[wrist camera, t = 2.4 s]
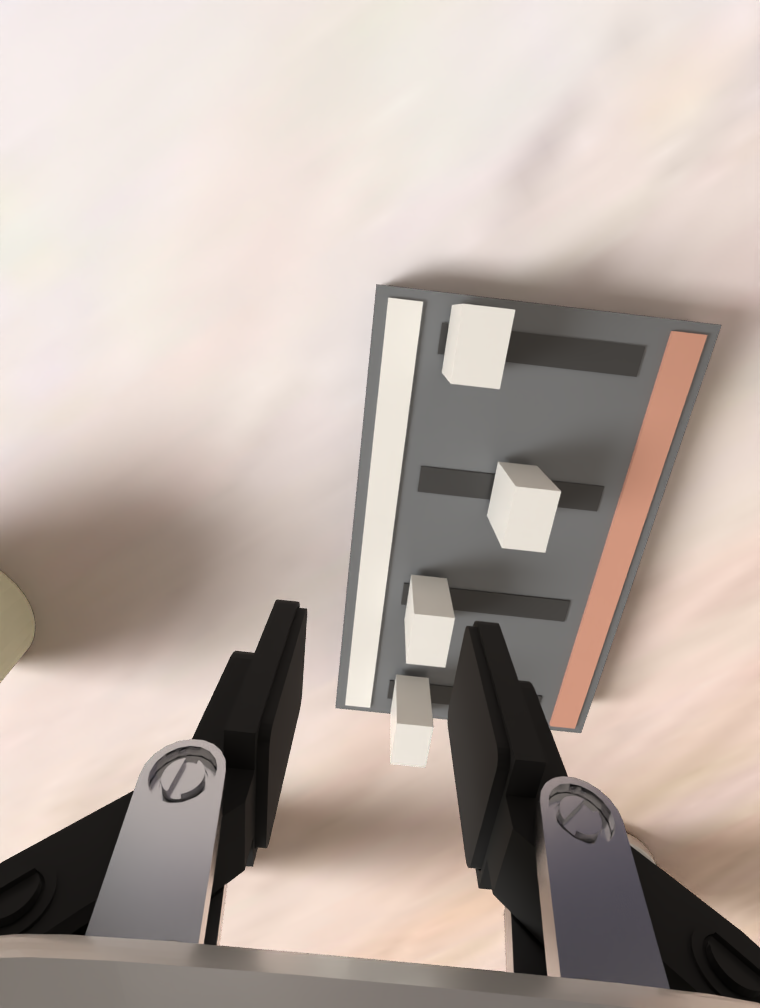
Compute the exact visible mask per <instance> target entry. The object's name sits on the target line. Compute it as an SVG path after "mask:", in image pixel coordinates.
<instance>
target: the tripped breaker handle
mask: <svg viewBox="0 0 760 1008" xmlns="http://www.w3.org/2000/svg"><path fill="white" fill-rule="evenodd" d="M560 494H561V491H560V490H559V489H558V487H557V486H556V485H555V484H554V483H553V482H552V481H551V480H550V479H549V478H548V477H547V476H546V475H545V474H544V473H543V472H542V470H541V469H540V468H539V467H538V466H534V465H525V464H517V463H508V462H499V461H498V464H497V469H496V474H495V479H494V484H493V489H492V493H491V498H490V503H489V508H488V513H487V517H488V519H489V521H490V523H491V526H492V528H493V530H494V532H495V534H496V536H497V538H498V541H499V543H500V545H501V547H502V548H506V549H516V550H525V551H534V552H543V553H545V552H546V548H547V544H548V540H549V536H550V533H551V529H552V525H553V521H554V517H555V513H556V510H557V506H558V502H559V498H560Z"/></svg>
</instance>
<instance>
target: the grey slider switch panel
mask: <svg viewBox="0 0 760 1008" xmlns="http://www.w3.org/2000/svg"><path fill="white" fill-rule="evenodd" d="M720 328H721V325H717V324H709V323H700V322H692V321H683V320H675V319H667V318H658V317H650V316H641V315H633V314H624V313H616V312H607V311H599V310H590V309H582V308H573V307H565V306H556V305H548V304H539V303H531V302H522V301H514V300H505V299H497V298H488V297H480V296H471V295H463V294H455V293H446V292H438V291H429V290H421V289H412V288H404V287H395V286H387V285H378V284H376V294H375V305H374V315H373V325H372V336H371V346H370V356H369V367H368V377H367V387H366V398H365V408H364V418H363V429H362V439H361V449H360V460H359V470H358V480H357V491H356V501H355V511H354V522H353V532H352V542H351V553H350V563H349V573H348V584H347V594H346V604H345V615H344V625H343V635H342V646H341V656H340V666H339V676H338V687H337V697H336V707H335V708H340V709H350V710H360V711H370V712H379V713H389V714H390V764H394V765H404V766H414V767H424V768H426V763H427V758H428V753H429V748H430V743H431V738H432V733H433V728H434V726H433V718H438V719H448V709H449V704H450V699H451V694H452V689H453V685H454V680H455V675H456V670H457V665H458V660H459V656H460V651H461V646H462V641H463V636H464V631H465V628H466V626H473V624H474V622H475V621H485V622H494V623H499V625H500V627H501V630H502V633H503V636H504V639H505V642H506V645H507V648H508V651H509V654H510V657H511V660H512V662H513V665H514V668H515V671H516V674H517V677H518V680H521V681H529V682H531V683H532V685H533V687H534V688H535V691H536V694H537V696H538V699H539V702H540V704H541V707H542V710H543V712H544V715H545V718H546V720H547V723H548V725H549V728H550V730H556V731H566V732H575V733H581V732H582V729H583V726H584V723H585V720H586V717H587V714H588V712H589V709H590V706H591V703H592V700H593V697H594V694H595V691H596V688H597V685H598V682H599V680H600V677H601V674H602V671H603V668H604V665H605V662H606V659H607V656H608V653H609V651H610V648H611V645H612V642H613V639H614V636H615V633H616V630H617V627H618V624H619V621H620V619H621V616H622V613H623V610H624V607H625V604H626V601H627V598H628V595H629V592H630V590H631V587H632V584H633V581H634V578H635V575H636V572H637V569H638V566H639V563H640V560H641V558H642V555H643V552H644V549H645V546H646V543H647V540H648V537H649V534H650V531H651V529H652V526H653V523H654V520H655V517H656V514H657V511H658V508H659V505H660V502H661V499H662V497H663V494H664V491H665V488H666V485H667V482H668V479H669V476H670V473H671V470H672V467H673V465H674V462H675V459H676V456H677V453H678V450H679V447H680V444H681V441H682V438H683V436H684V433H685V430H686V427H687V424H688V421H689V418H690V415H691V412H692V409H693V406H694V404H695V401H696V398H697V395H698V392H699V389H700V386H701V383H702V380H703V377H704V375H705V372H706V369H707V366H708V363H709V360H710V357H711V354H712V351H713V348H714V345H715V343H716V340H717V337H718V334H719V331H720ZM498 461H499V462H508V463H517V464H525V465H534V466H538V467H539V468H540V469H541V470H542V472H543V473H544V474H545V475H546V476H547V477H548V478H549V479H550V480H551V481H552V482H553V483H554V484H555V485H556V486H557V487H558V489H559V490H560V491H561V494H560V498H559V502H558V506H557V510H556V513H555V517H554V521H553V525H552V529H551V533H550V536H549V540H548V544H547V548H546V552H545V553H543V552H534V551H525V550H516V549H506V548H502V547H501V545H500V543H499V541H498V538H497V536H496V534H495V532H494V530H493V528H492V526H491V523H490V521H489V519H488V517H487V513H488V508H489V503H490V498H491V493H492V489H493V484H494V479H495V474H496V469H497V464H498Z"/></svg>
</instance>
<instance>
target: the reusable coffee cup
mask: <svg viewBox="0 0 760 1008" xmlns="http://www.w3.org/2000/svg"><path fill="white" fill-rule="evenodd" d="M34 633H35V620H34V615H33V612H32V609H31V606H30V604H29V602H28V600H27V599H26V597H25V595H24V594H23V592H22V591H21V590H20V589H19V588H18V586H17V585H16V584H15V583H14V582H13V581H12V580H11V579H10V578H9V577H8V576H6V575H5V574H4V573H3V572H1V571H0V683H1V681H2V680H3V679H4V678H5V677H6V675H7V674H8V673H9V672H10V670H11V669H12V668H13V667H14V666H15V664H16V663H17V662H18V661H19V659H20V658H21V657H22V656H23V655H24V653H25V652H26V651H27V650H28V648H29V647H30V645H31V643H32V641H33V639H34Z"/></svg>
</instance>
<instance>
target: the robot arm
mask: <svg viewBox="0 0 760 1008" xmlns="http://www.w3.org/2000/svg"><path fill="white" fill-rule="evenodd" d="M306 623H307V609H305V608H300V604H299V602H296V601H286V600H276V601H275V604H274V606H273V609H272V611H271V614H270V616H269V619H268V621H267V624H266V626H265V628H264V631H263V633H262V636H261V638H260V641H259V643H258V646H257V648H256V651H255V653H251V652H241V651H235V652H233V654H232V655H231V657H230V659H229V661H228V663H227V665H226V668H225V670H224V672H223V674H222V676H221V678H220V680H219V682H218V685H217V687H216V689H215V691H214V693H213V695H212V697H211V700H210V702H209V704H208V706H207V708H206V710H205V712H204V714H203V717H202V719H201V721H200V723H199V725H198V727H197V729H196V732H195V734H194V736H193V738H192V739H189V740H183V741H178V742H175V743H173V744H170V745H168V746H166V747H164V748H163V749H161V750H160V751H158V752H157V753H155V754H154V755H153V756H152V757H151V758H150V759H149V760H148V761H147V762H146V764H145V765H144V767H143V769H142V771H141V773H140V775H139V777H138V780H137V783H136V786H135V789H134V791H132V792H130V793H128V794H126V795H125V796H123V797H121V798H119V799H117V800H115V801H114V802H112V803H110V804H108V805H106V806H104V807H103V808H101V809H99V810H97V811H95V812H93V813H92V814H90V815H88V816H86V817H84V818H82V819H80V820H79V821H77V822H75V823H73V824H71V825H69V826H68V827H66V828H64V829H62V830H60V831H58V832H57V833H55V834H53V835H51V836H49V837H47V838H46V839H44V840H42V841H40V842H38V843H36V844H35V845H33V846H31V847H29V848H27V849H25V850H23V851H22V852H20V853H18V854H16V855H14V856H12V857H11V858H9V859H7V860H5V861H3V862H2V863H0V1008H760V948H759V946H757V945H756V944H755V943H754V942H753V941H752V940H751V939H750V938H749V937H747V936H746V935H745V934H744V933H743V932H742V931H741V930H739V929H738V928H737V927H735V926H734V925H733V924H732V923H730V922H729V921H728V920H726V919H725V918H724V917H722V916H721V915H720V914H719V913H717V912H716V911H715V910H713V909H712V908H711V907H710V906H708V905H707V904H706V903H704V902H703V901H702V900H700V899H699V898H698V897H697V896H695V895H694V894H693V893H691V892H690V891H689V890H688V889H686V888H685V887H684V886H682V885H681V884H680V883H679V882H677V881H676V880H675V879H673V878H672V877H671V876H669V875H668V874H667V873H666V872H664V871H663V870H662V869H660V868H659V867H658V866H657V865H656V863H655V861H654V859H653V857H652V855H651V853H650V851H649V850H648V849H647V848H646V846H645V845H644V844H643V843H642V842H641V841H639V840H638V839H636V838H635V837H633V836H632V835H630V834H627V833H626V830H625V826H624V823H623V820H622V818H621V816H620V813H619V811H618V810H617V808H616V807H615V806H614V804H613V803H612V802H611V800H610V799H609V798H608V797H607V796H606V795H605V794H603V793H602V792H601V791H600V790H599V789H597V788H596V787H594V786H592V785H591V784H589V783H588V782H585V781H582V780H580V779H577V778H574V777H568V776H567V773H566V770H565V768H564V765H563V762H562V760H561V757H560V755H559V752H558V749H557V747H556V744H555V741H554V739H553V736H552V733H551V731H550V728H549V725H548V723H547V720H546V718H545V715H544V712H543V710H542V707H541V704H540V702H539V699H538V696H537V694H536V691H535V688H534V687H533V685H532V683H531V682H529V681H521V680H518V677H517V674H516V671H515V668H514V665H513V662H512V660H511V657H510V654H509V651H508V648H507V645H506V642H505V639H504V636H503V633H502V630H501V627H500V625H499V623H494V622H485V621H475V622H474V624H473V626H466V628H465V631H464V636H463V641H462V646H461V651H460V656H459V660H458V665H457V670H456V675H455V680H454V685H453V689H452V694H451V699H450V704H449V709H448V731H449V738H450V745H451V753H452V760H453V768H454V775H455V783H456V790H457V798H458V805H459V812H460V820H461V827H462V835H463V842H464V850H465V857H466V863H467V866H468V867H469V868H476V874H477V881H478V887H479V888H481V889H492V892H493V895H494V896H495V897H496V898H497V899H498V900H499V901H500V902H501V903H502V904H503V905H504V906H505V909H504V926H505V955H506V972H502V971H492V970H482V969H471V968H461V967H450V966H439V965H429V964H418V963H407V962H396V961H386V960H375V959H364V958H353V957H342V956H331V955H320V954H309V953H298V952H287V951H275V950H264V949H252V948H240V947H229V946H220V939H221V931H222V923H223V915H224V906H225V898H226V890H227V883H228V882H230V881H231V880H232V879H234V878H235V877H236V876H238V875H239V874H240V873H242V872H243V871H244V870H245V867H246V866H252V867H253V864H254V860H255V856H256V852H257V848H258V847H260V848H267V847H268V844H269V840H270V836H271V831H272V827H273V823H274V819H275V814H276V810H277V806H278V801H279V797H280V793H281V788H282V784H283V780H284V775H285V771H286V767H287V763H288V758H289V754H290V750H291V745H292V741H293V737H294V732H295V728H296V724H297V720H298V715H299V711H300V706H301V699H302V686H303V670H304V655H305V639H306Z"/></svg>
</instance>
